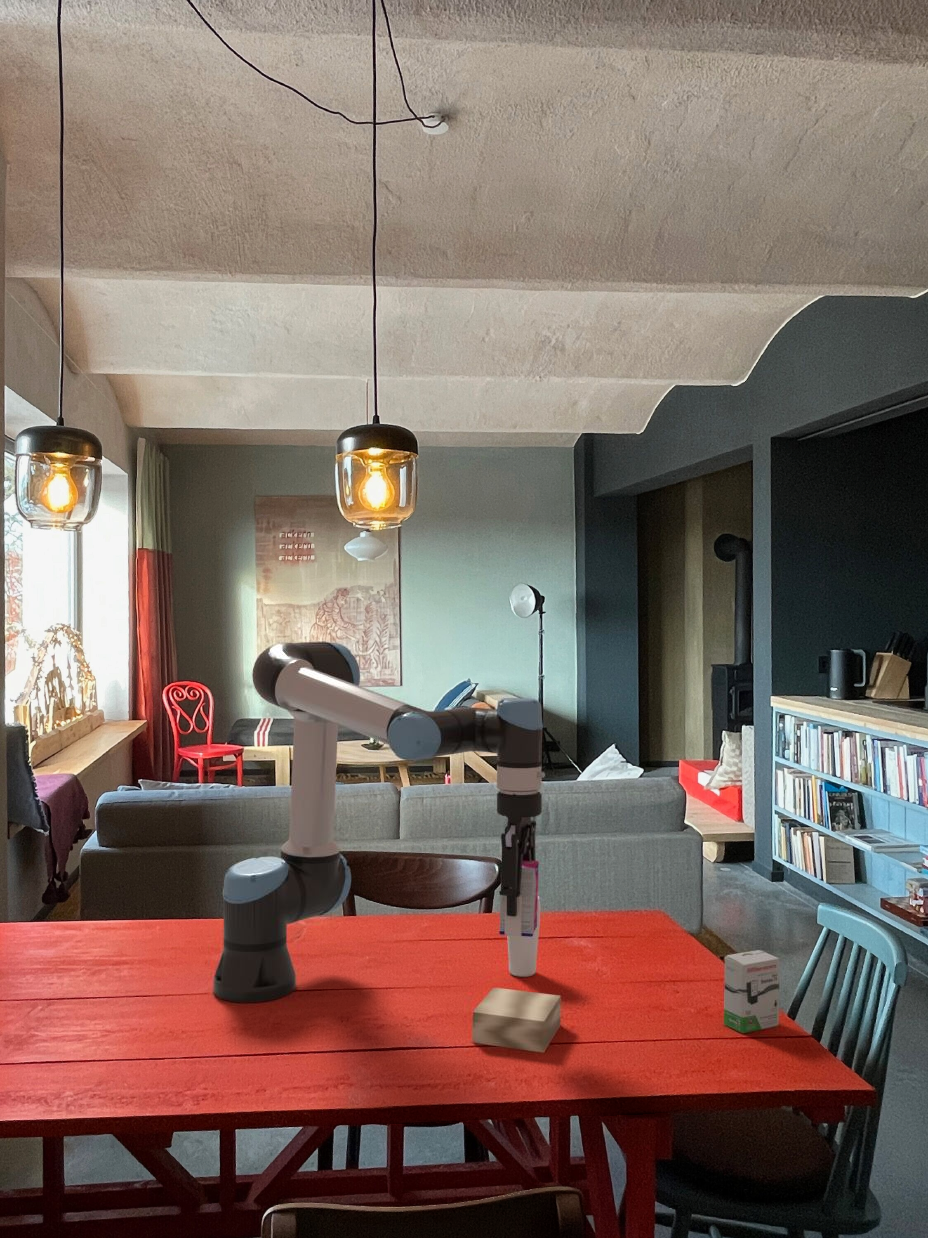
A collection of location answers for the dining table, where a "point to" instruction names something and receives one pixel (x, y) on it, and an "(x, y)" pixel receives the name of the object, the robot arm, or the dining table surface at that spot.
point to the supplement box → (525, 899)
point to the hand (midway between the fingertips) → (518, 928)
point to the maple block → (517, 1019)
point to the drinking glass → (524, 951)
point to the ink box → (751, 991)
